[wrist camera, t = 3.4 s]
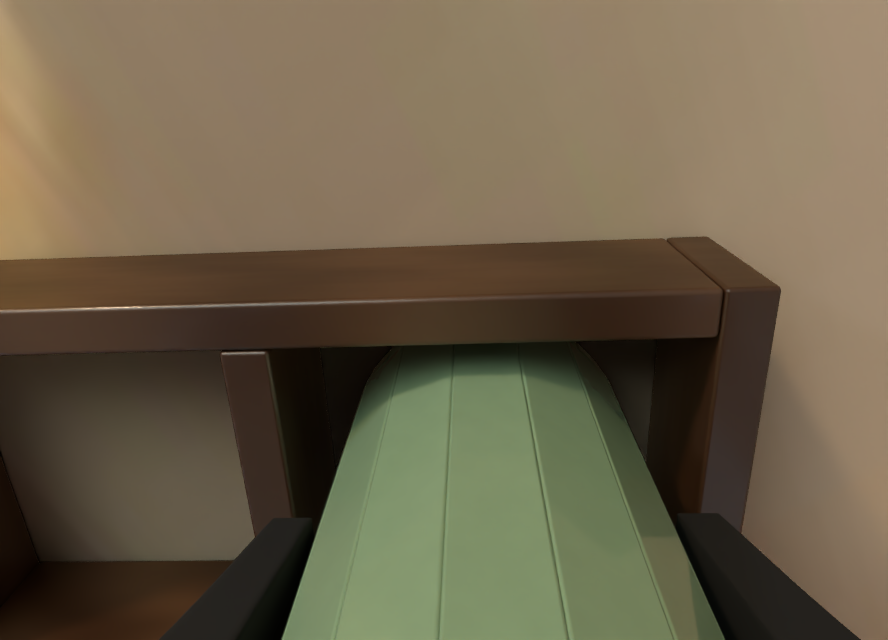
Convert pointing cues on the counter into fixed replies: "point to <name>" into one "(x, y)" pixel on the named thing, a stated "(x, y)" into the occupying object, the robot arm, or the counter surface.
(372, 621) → the cup
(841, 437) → the counter surface
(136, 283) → the cup holder
